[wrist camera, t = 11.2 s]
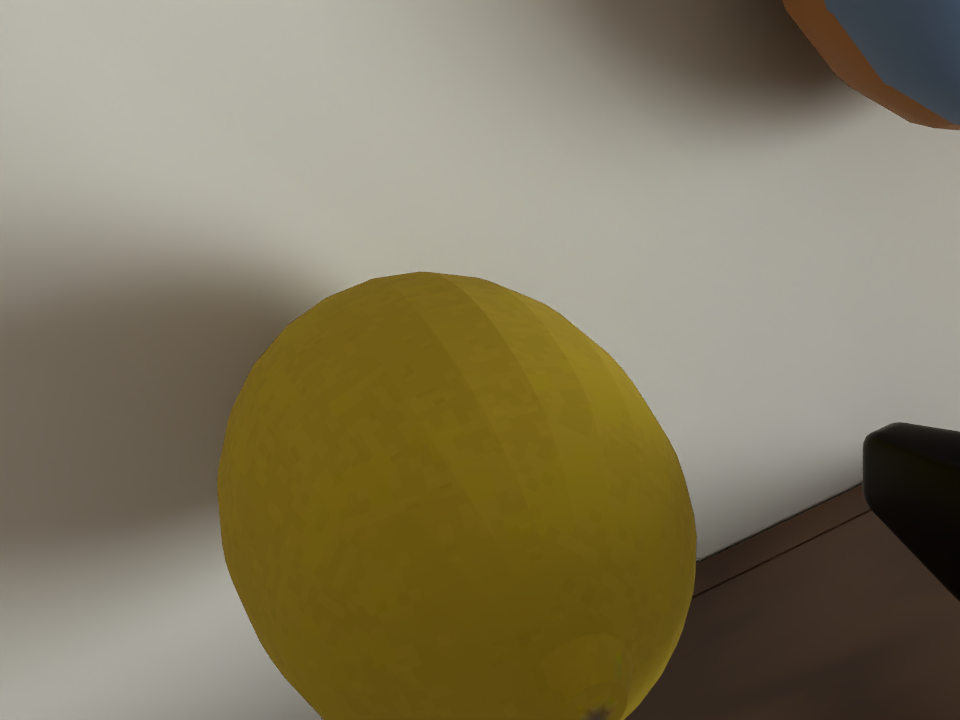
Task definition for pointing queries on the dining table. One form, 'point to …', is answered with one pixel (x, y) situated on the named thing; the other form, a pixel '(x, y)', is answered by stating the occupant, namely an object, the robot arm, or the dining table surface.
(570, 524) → the lemon
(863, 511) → the cabinet
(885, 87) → the doughnut
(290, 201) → the dining table surface
